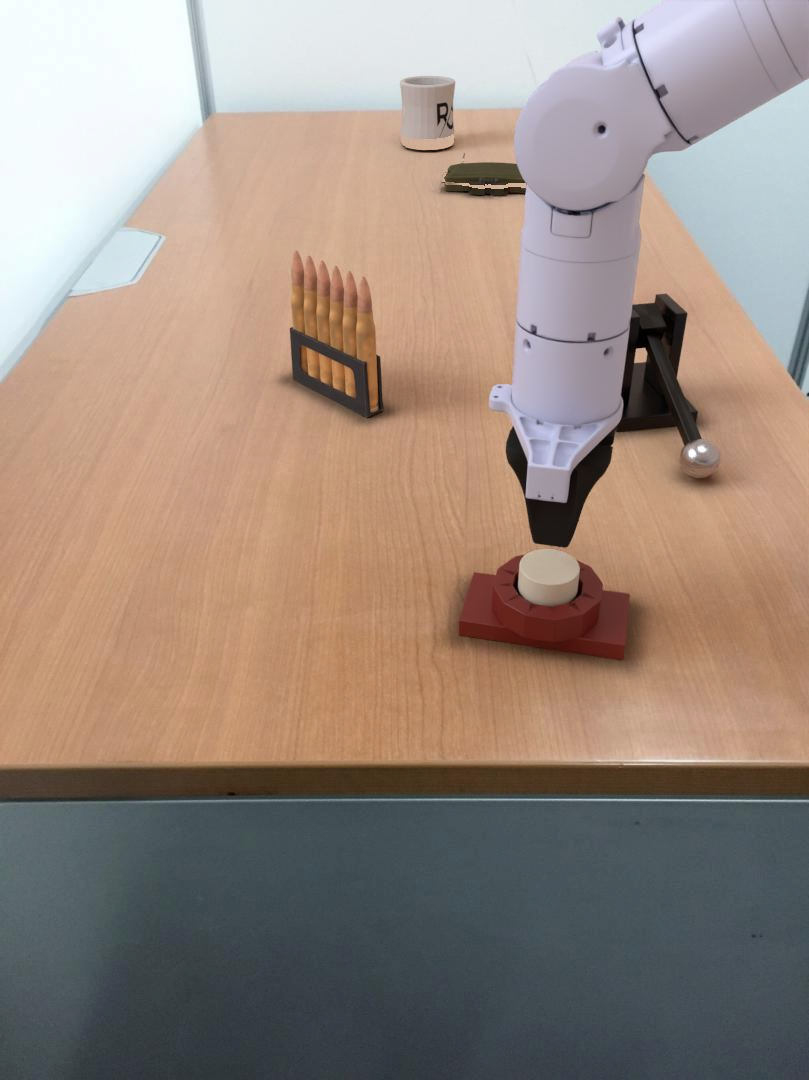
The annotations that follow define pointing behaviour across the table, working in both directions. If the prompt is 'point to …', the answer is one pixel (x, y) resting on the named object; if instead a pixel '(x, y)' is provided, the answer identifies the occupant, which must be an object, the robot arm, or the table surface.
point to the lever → (675, 395)
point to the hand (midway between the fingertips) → (551, 539)
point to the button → (548, 577)
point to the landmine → (484, 177)
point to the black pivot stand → (651, 373)
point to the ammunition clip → (334, 337)
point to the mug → (427, 107)
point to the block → (546, 614)
